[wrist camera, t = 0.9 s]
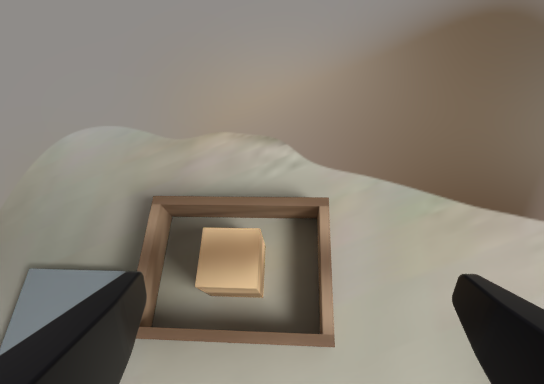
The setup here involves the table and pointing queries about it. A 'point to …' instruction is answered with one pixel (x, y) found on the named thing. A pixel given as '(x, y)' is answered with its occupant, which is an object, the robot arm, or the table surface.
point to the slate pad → (51, 298)
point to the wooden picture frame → (242, 208)
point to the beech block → (231, 262)
